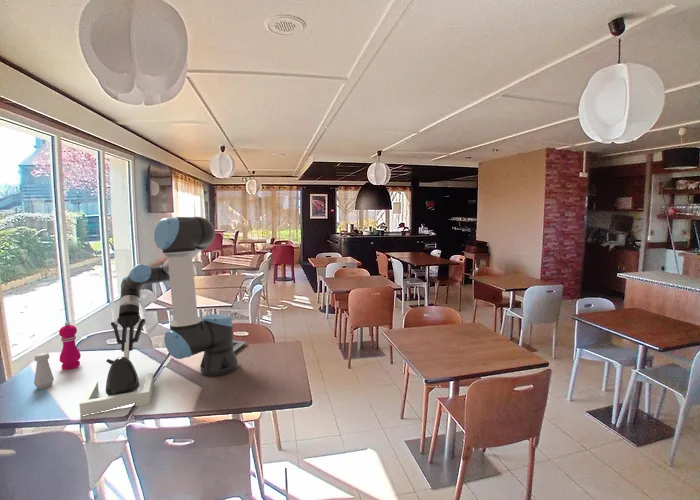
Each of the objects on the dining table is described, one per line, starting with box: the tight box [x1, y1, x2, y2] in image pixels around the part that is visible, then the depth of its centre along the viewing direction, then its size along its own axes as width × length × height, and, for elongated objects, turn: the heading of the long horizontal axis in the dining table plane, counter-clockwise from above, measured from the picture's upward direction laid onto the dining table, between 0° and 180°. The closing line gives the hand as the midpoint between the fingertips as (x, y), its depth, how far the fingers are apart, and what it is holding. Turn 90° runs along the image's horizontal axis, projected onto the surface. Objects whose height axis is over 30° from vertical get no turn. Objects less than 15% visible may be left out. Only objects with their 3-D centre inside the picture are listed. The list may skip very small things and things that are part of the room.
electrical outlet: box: [233, 340, 247, 353], centre depth 179 cm, size 13×10×2 cm
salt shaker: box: [33, 352, 54, 390], centre depth 139 cm, size 6×6×13 cm
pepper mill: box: [58, 321, 82, 371], centre depth 156 cm, size 7×7×20 cm
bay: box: [79, 372, 155, 417], centre depth 131 cm, size 16×20×4 cm
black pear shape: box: [105, 356, 140, 396], centre depth 131 cm, size 10×10×15 cm
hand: (126, 358), depth 147 cm, fingers closed
